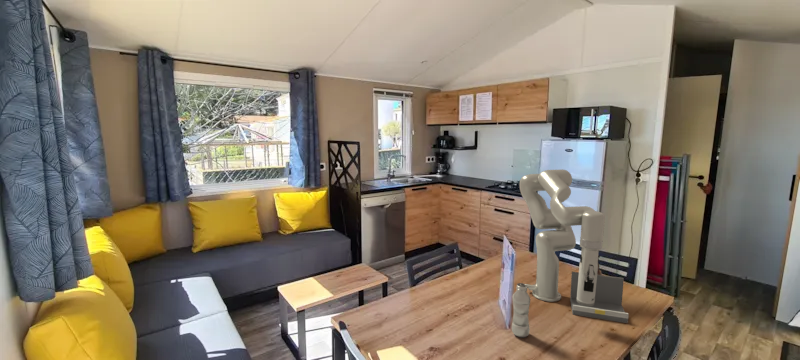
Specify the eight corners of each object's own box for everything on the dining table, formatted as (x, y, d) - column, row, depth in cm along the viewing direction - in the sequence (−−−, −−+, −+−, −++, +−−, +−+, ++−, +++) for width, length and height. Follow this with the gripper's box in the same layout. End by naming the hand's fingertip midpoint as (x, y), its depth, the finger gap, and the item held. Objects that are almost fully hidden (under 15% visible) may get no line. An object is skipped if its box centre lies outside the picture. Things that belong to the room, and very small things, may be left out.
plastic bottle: (520, 341, 128) (522, 290, 125) (507, 332, 134) (508, 283, 131) (533, 336, 131) (535, 286, 128) (519, 328, 137) (521, 280, 134)
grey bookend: (572, 314, 147) (574, 283, 145) (570, 300, 159) (571, 271, 157) (627, 323, 139) (630, 290, 137) (620, 308, 151) (623, 277, 150)
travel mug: (597, 307, 133) (602, 258, 129) (579, 305, 134) (583, 256, 131) (592, 299, 139) (596, 252, 135) (574, 297, 140) (578, 250, 137)
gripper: (577, 235, 142) (574, 276, 145) (582, 249, 126) (578, 295, 129) (598, 237, 139) (594, 279, 142) (606, 252, 123) (601, 299, 126)
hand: (587, 286), depth 135 cm, fingers closed on travel mug, 6 cm apart
